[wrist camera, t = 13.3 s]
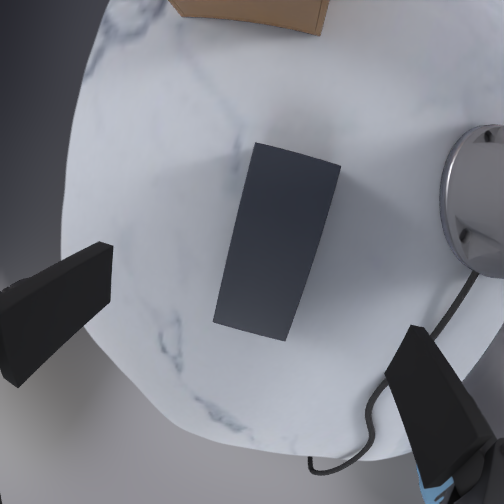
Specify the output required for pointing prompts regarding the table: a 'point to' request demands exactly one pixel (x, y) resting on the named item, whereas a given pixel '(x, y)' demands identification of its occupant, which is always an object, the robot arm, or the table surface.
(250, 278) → the case
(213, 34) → the table surface
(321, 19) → the carton
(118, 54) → the table surface
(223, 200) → the table surface
